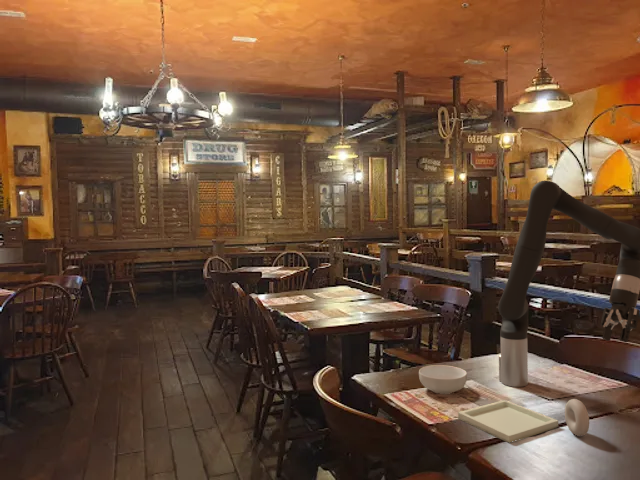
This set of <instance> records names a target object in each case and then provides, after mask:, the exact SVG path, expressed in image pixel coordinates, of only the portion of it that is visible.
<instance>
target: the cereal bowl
mask: <svg viewBox="0 0 640 480" xmlns="http://www.w3.org/2000/svg"><path fill="white" fill-rule="evenodd" d="M467 375H468V373H467V371H466V370H465V369H463V368H460V367H458V366H457V367H456V366H452V365H445V364H444V365H443V364H432V365H426V366H423V367H421V368H420V369H419V370H418V378H419V381H420V383H421V384H422V386H423V387H425V388H426V389H428V390H430V391H432V392H433V393H435V394H438V393H440V395H450V394H449V393H451V394H453V393H454V392H459V391H460V390H461V389H463V388H464V387H465V385H466V383H467V379H468V376H467ZM452 392H453V393H452Z"/></svg>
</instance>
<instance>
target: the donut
mask: <svg viewBox="0 0 640 480" xmlns="http://www.w3.org/2000/svg"><path fill="white" fill-rule="evenodd" d="M564 418H565V422H566V425H567V428H568V430H569V431H570V432H571V433H572V435H574V434H575V435H574V436H576V435H577V436H576V437H583V436H585V435H587V434H588V432H589V429H590V417H589V413H588V410H587V408H586V405H585V404H584V403H583V402H582V400H579V399H577V398H572V399H569V400H568V401H567V402H566V404H565V408H564Z"/></svg>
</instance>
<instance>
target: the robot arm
mask: <svg viewBox="0 0 640 480" xmlns="http://www.w3.org/2000/svg"><path fill="white" fill-rule="evenodd" d="M528 200H529V203H528V205H527V213H526V216H525V218H524V219H525V220H524V222H523V225H522V228H521V231H520V233H519V236H518V238H517V239H518V240H517V243H516V245H515V249H514V252H513V257H512V260H511V265H510V269H509V273H508V274H509V275H508V278H507V281H506V285H505V288H504V290H503V292H502V295H501V297H500V299H499V301H498V305H497V309H498V313H499V315H500V316H501V318H502V319H501V321H502V322H501V326H500V332H499V333H500V355H498V381H499V382H501V384H502V385H505V386H509V387H513V388H514V387H516V388H517V387H519V388H521V387H526V386H528V384H529V376H528V375H529V371H528V370H529V367H528V366H529V364H528V363H529V362H528V360H529V359H528V331H529V330H528V329H529V303H528V300H527V298H526V297H527V293H528V290H529V287H530V284H531V282H532V280H533V278H534V276H535V275H536V273H537V271H538V269H539V265H540V264H541V262H542V258H543V254H544V250H545V247H546V242H547V241H546V240H547V233H548V232H547V230H548V223H549V219H550V217H551V215H552V212H553V210H555V211H557V212H560V213H562V214H563V215H567V216H568V217H570V218H571V219H573V220H574V221H576V222H577V223H579V224H580V225H581V226H583V227H585V228H586V229H587V230H589V231H591V232H593V233H594V234H597V235H598V236H600V237H601V238H604V239H606V240H612V241H613V240H614V241H616V242H618V243H619V244H621V245H620V250H619V251H620V252H619V261H618V263H617V267H616V272H615V276H614V279H613V281H612V284H611V285H612V287H611V290H610V294H609V295H610V296H609V300H608V302H609V304H611V307H610V308H608V307H604V309H603V313H602V316H601V321H600V325H599V326H601V327H603V334H602V340H603V341H604V340H605V341H611V337H612V334H613V328H614V327H615V326H617V325H618V324H619V323H620V324H621V327H622V328H621V331H620V335H619V341H620V342H623V343H628V341H629V338H630V334H631V331H632V330H636V329H637V328H638V322H639V316H640V310H639V309H637V308H636V307H637V305H638V304H637V303H638V300H639V294H640V227H637V226H635V225H632V224H629V223H626V222H623V221H619V220H618V219H616V218H615V217H612V216H610V215H608V214H607V213H605V212H603V211H601V210H599V209H597V208H596V207H595V208H594V207H592V206H590V205H589V204H586V203H584V202H582V201H581V200H578V199H577V198H576V197H574V196H572V195H571V194H569V193H568V192H567V191H565V190H564V189H563V188H561V186H560V185H559V184H558V183H556V182H554V181H551V180H541V181H539V182H537V183H535V184H534V186H532V188H531V191H530V196H529V199H528Z"/></svg>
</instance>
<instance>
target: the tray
mask: <svg viewBox="0 0 640 480" xmlns="http://www.w3.org/2000/svg"><path fill="white" fill-rule="evenodd" d="M457 419H458V420H460V421H463V423H467V424H468V425H470V426H472V427H474V428H477V429H479V430H481V431H482V432H485V433H487V434H489V435H491V436H494V437H496V438H497V439H500V440H501V441H504V442H506V443H508V442H509V443H508V444H510V442H511V443H513V442H512V441H514V442H516V441H515V440H517V441H520V440H519V439H521V440H522V439H523V438H524V439H527V438H528V437H529V438H530V437H532V436H536V435H538V434H541V433H545V432H547V431H551V430H555V429H558V428H559V419H558V420H557V419H556V418H552V417H550V416H548V415H544V414H543V413H540V412H537V411H535V410H532V409H529V408H527V407H524V406H521V405H520V404H516V403H514V402H512V401H508V400H507V399H502V400H499V401H496V402H492V403H488V404H483V405H481V406H475V407H473V408H469V409H465V410H462V411H461V410H460V411H457Z"/></svg>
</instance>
